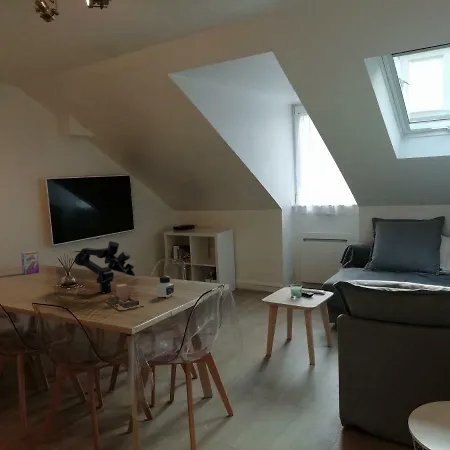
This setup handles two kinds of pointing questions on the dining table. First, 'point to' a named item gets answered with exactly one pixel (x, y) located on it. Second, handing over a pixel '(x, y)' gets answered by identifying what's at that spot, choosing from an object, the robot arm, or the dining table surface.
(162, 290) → the medicine bottle
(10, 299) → the dining table surface
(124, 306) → the walnut chute
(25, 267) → the candy bar box
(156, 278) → the dining table surface
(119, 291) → the terracotta block
